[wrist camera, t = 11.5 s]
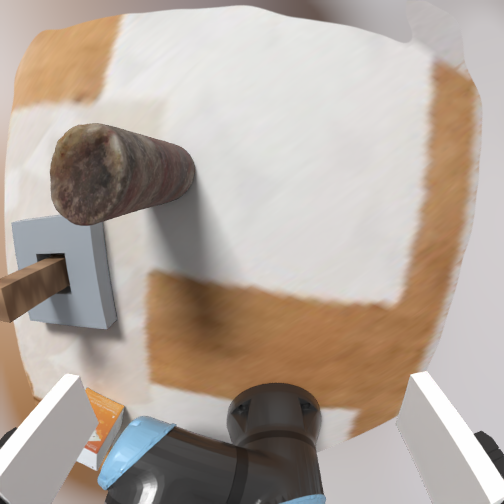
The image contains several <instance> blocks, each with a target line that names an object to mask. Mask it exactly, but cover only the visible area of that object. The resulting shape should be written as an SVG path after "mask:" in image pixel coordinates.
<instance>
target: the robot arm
mask: <svg viewBox="0 0 504 504" xmlns="http://www.w3.org/2000/svg"><path fill="white" fill-rule="evenodd" d="M98 424H99V422H98V420H97V418H96V415H95V413H94V411H93V408H92V406H91V404H90V401H89V399H88V396H87V394H86V391H85V389H84V386H83V384H82V381H81V378H80V376H76V375H71V374H65V375H64V376H63V377H62V379H61V380H60V381H59V382H58V383H57V384H56V385H55V386H54V387H53V388H52V390H51V391H50V392H49V393H48V394H47V395H46V396H45V397H44V399H43V400H42V401H41V402H40V403H39V404H38V405H37V406H36V408H35V409H34V410H33V411H32V412H31V413H30V415H29V416H28V417H27V418H26V419H25V421H24V422H23V423H22V424H21V425H20V426H19V427H18V428H16V427H15V428H13V429H12V430H11V431H9V432H7V433H6V434H5V435H4V436H3V437H2V438H1V440H0V504H52V502H53V500H54V498H55V496H56V495H57V493H58V491H59V490H60V488H61V486H62V484H63V483H64V481H65V479H66V477H67V476H68V474H69V472H70V470H71V469H72V467H73V465H74V464H75V462H76V460H77V459H78V457H79V455H80V454H81V452H82V450H83V449H84V447H85V445H86V444H87V442H88V440H89V439H90V437H91V435H92V434H93V432H94V430H95V429H96V427H97V425H98ZM396 425H397V427H398V430H399V432H400V434H401V436H402V437H403V440H404V442H405V444H406V446H407V448H408V450H409V453H410V455H411V457H412V459H413V461H414V463H415V466H416V468H417V470H418V472H419V475H420V477H421V479H422V481H423V484H424V486H425V488H426V490H427V493H428V495H429V497H430V499H431V502H432V504H504V454H503V452H502V451H501V450H500V449H498V448H499V447H498V445H497V444H496V443H495V441H494V440H493V439H492V438H491V437H490V436H489V435H487V434H486V433H484V432H483V431H480V432H477V433H475V434H473V433H472V432H471V430H470V429H469V427H468V426H467V425H466V423H465V422H464V420H463V419H462V418H461V416H460V415H459V413H458V412H457V411H456V409H455V408H454V407H453V405H452V404H451V402H450V401H449V400H448V398H447V397H446V396H445V394H444V393H443V392H442V390H441V389H440V388H439V387H438V385H437V384H436V383H435V381H434V380H433V379H432V377H431V376H430V375H429V374H428V372H427V371H425V372H420V373H415V374H410V378H409V382H408V386H407V389H406V393H405V396H404V399H403V403H402V406H401V409H400V412H399V415H398V418H397V421H396ZM320 426H321V413H320V408H319V405H318V402H317V400H316V399H315V398H314V396H313V395H312V394H310V393H309V392H308V391H306V390H304V389H302V388H300V387H298V386H294V385H290V384H284V383H269V384H262V385H258V386H255V387H252V388H249V389H247V390H245V391H244V392H242V393H240V394H239V395H238V396H237V397H236V398H235V399H234V400H233V401H232V403H231V404H230V406H229V409H228V415H227V429H228V432H229V435H230V438H231V441H232V444H233V445H232V444H229V443H225V442H222V441H219V440H215V439H212V438H209V437H206V436H203V435H200V434H197V433H194V432H191V431H188V430H185V429H182V428H179V427H177V425H176V424H174V423H173V424H169V423H166V422H163V421H160V420H157V419H155V418H152V417H149V416H140V417H138V418H136V419H134V420H133V421H132V422H131V423H130V424H129V425H128V426H127V427H126V428H125V430H124V431H123V432H122V434H121V435H120V437H119V438H118V440H117V441H116V443H115V444H114V446H113V448H112V449H111V451H110V453H109V455H108V457H107V458H106V460H105V462H104V464H103V467H102V469H101V473H100V475H99V477H98V484H99V485H100V486H101V487H102V488H103V489H104V490H108V494H107V497H106V500H105V504H325V501H326V497H325V496H324V493H323V487H322V482H321V475H320V470H319V464H318V458H317V453H316V447H315V446H316V442H317V438H318V434H319V430H320Z"/></svg>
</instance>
